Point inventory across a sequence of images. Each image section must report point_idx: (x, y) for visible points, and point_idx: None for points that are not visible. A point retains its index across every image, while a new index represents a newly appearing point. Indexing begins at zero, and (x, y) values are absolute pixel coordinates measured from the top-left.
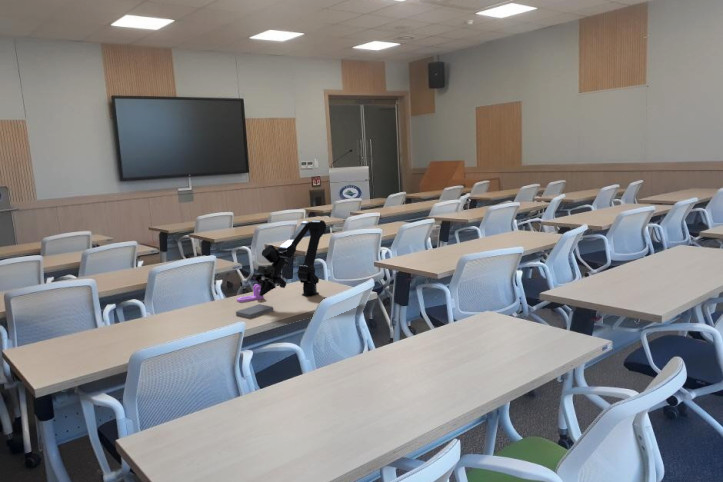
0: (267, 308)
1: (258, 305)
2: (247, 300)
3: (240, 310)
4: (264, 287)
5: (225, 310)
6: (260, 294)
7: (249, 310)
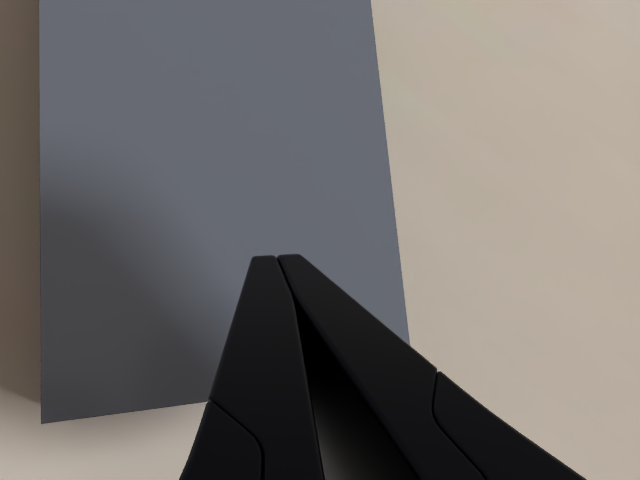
0: (54, 291)
1: None
2: None
3: (352, 11)
4: (247, 448)
5: (603, 69)
6: (269, 262)
7: (238, 65)
